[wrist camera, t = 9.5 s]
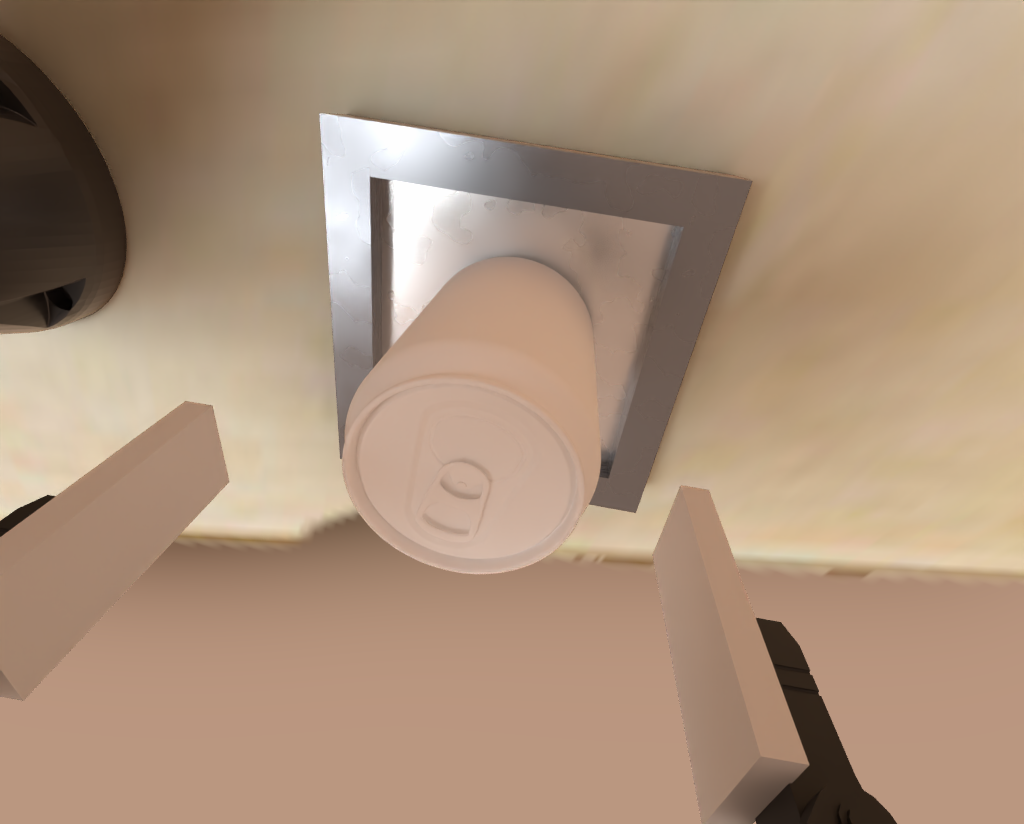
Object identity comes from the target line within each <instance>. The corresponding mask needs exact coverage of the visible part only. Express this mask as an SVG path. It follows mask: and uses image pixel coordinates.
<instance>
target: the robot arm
mask: <svg viewBox="0 0 1024 824" xmlns="http://www.w3.org/2000/svg"><path fill="white" fill-rule="evenodd" d="M125 260H126V230H125V223H124V217H123V212H122V208H121V204H120V200H119V197H118V193H117V190H116V188H115V185H114V182H113V179H112V177H111V175H110V172H109V170H108V167H107V165H106V163H105V161H104V159H103V157H102V155H101V153H100V151H99V149H98V147H97V145H96V144H95V142H94V140H93V138H92V137H91V135H90V133H89V132H88V130H87V128H86V127H85V125H84V124H83V122H82V121H81V119H80V118H79V116H78V115H77V113H76V112H75V111H74V109H73V108H72V107H71V105H70V104H69V103H68V101H67V100H66V99H65V98H64V96H63V95H62V94H61V93H60V91H59V90H58V89H57V88H56V87H55V85H54V84H53V83H52V82H51V81H50V80H49V79H48V78H47V76H46V75H45V74H44V73H43V72H42V71H41V70H40V69H39V68H38V67H37V66H36V65H35V64H34V63H33V62H32V61H31V60H30V59H29V58H28V57H26V56H25V55H24V54H23V53H22V52H21V51H20V50H19V49H17V48H16V47H15V46H14V45H13V44H12V43H10V42H9V41H8V40H7V39H5V38H4V37H3V36H1V35H0V334H11V333H30V332H39V331H44V330H49V329H54V328H57V327H61V326H63V325H66V324H69V323H71V322H74V321H77V320H79V319H82V318H84V317H87V316H89V315H91V314H93V313H95V312H96V311H98V310H99V309H100V308H102V307H103V306H104V305H105V304H106V303H107V302H108V301H109V300H110V298H111V297H112V296H113V294H114V293H115V291H116V289H117V287H118V285H119V283H120V281H121V278H122V275H123V271H124V267H125ZM228 483H229V478H228V473H227V469H226V464H225V460H224V455H223V451H222V447H221V442H220V438H219V433H218V429H217V424H216V420H215V415H214V411H213V406H212V405H206V404H200V403H194V402H188V401H185V402H184V403H182V404H181V405H180V406H178V407H177V408H175V409H174V410H173V411H171V412H170V413H169V414H167V415H166V416H165V417H163V418H162V419H161V420H159V421H158V422H156V423H155V424H154V425H152V426H151V427H150V428H148V429H147V430H146V431H144V432H143V433H141V434H140V435H139V436H137V437H136V438H135V439H133V440H132V441H131V442H129V443H128V444H127V445H125V446H124V447H122V448H121V449H120V450H118V451H117V452H116V453H114V454H113V455H112V456H110V457H109V458H107V459H106V460H105V461H103V462H102V463H101V464H99V465H98V466H97V467H95V468H94V469H92V470H91V471H90V472H88V473H87V474H86V475H84V476H83V477H82V478H80V479H79V480H78V481H76V482H75V483H73V484H72V485H71V486H69V487H68V488H67V489H65V490H64V491H63V492H61V493H60V494H58V495H57V496H51V495H47V496H45V497H42V498H40V499H38V500H36V501H34V502H31V503H29V504H27V505H25V506H23V507H20V508H18V509H16V510H15V511H14V512H12V513H11V514H9V515H8V516H7V517H5V518H4V519H2V520H1V521H0V697H6V698H11V699H17V700H22V701H23V700H25V699H26V697H27V696H28V695H29V694H30V693H31V692H32V691H33V690H34V689H35V688H36V687H37V686H38V685H39V684H40V683H41V681H42V680H43V679H44V678H45V677H46V676H47V675H48V674H49V673H50V672H51V671H52V670H53V669H54V668H55V667H56V666H57V665H58V663H59V662H60V661H61V660H62V659H63V658H64V657H65V656H66V655H67V654H68V653H69V652H70V651H71V649H73V647H74V646H75V645H76V644H77V643H78V642H79V641H80V640H81V639H82V638H83V637H84V636H85V635H86V634H87V633H88V631H89V630H90V629H91V628H92V627H93V626H94V625H95V624H96V623H97V622H98V621H99V620H100V619H101V618H102V617H103V615H104V614H105V613H106V612H107V611H108V610H109V609H110V608H111V607H112V606H113V605H114V604H115V603H116V602H117V601H118V600H119V599H120V597H121V596H122V595H123V594H124V593H125V592H126V591H127V590H128V589H129V588H130V587H131V586H132V585H133V584H134V583H135V582H136V580H137V579H138V578H139V577H140V576H141V575H142V574H143V573H144V572H145V571H146V570H147V569H148V568H149V567H150V566H151V565H152V563H153V562H154V561H155V560H156V559H157V558H158V557H159V556H160V555H161V554H162V553H163V552H164V551H165V550H166V549H167V548H168V546H169V545H170V544H171V543H172V542H173V541H174V540H175V539H176V538H177V537H178V536H179V535H180V534H181V533H182V532H183V530H184V529H185V528H186V527H187V526H188V525H189V524H190V523H191V522H192V521H193V520H194V519H195V518H196V517H197V516H198V515H199V513H200V512H201V511H202V510H203V509H204V508H205V507H206V506H207V505H208V504H209V503H210V502H211V501H212V500H213V499H214V498H215V496H216V495H217V494H218V493H219V492H220V491H221V490H222V489H223V488H224V487H225V486H226V485H227V484H228ZM653 560H654V566H655V571H656V577H657V582H658V588H659V593H660V598H661V604H662V609H663V615H664V620H665V626H666V631H667V637H668V642H669V648H670V653H671V658H672V664H673V669H674V674H675V680H676V686H677V691H678V697H679V702H680V707H681V713H682V718H683V724H684V729H685V735H686V740H687V745H688V751H689V756H690V762H691V767H692V772H693V778H694V784H695V789H696V795H697V800H698V806H699V811H700V817H701V822H702V824H753V823H754V822H755V821H756V824H897V823H896V822H895V820H894V819H893V817H892V816H891V814H890V813H889V812H888V811H887V810H886V809H885V808H884V807H883V806H882V805H881V804H880V803H879V802H878V801H877V800H876V799H875V798H874V797H873V796H871V795H869V794H868V793H867V792H865V791H864V790H863V789H862V787H861V785H860V784H859V782H858V780H857V778H856V776H855V774H854V772H853V769H852V767H851V765H850V762H849V760H848V758H847V755H846V753H845V751H844V748H843V746H842V744H841V741H840V739H839V737H838V734H837V732H836V730H835V727H834V725H833V723H832V720H831V718H830V716H829V714H828V711H827V709H826V706H825V704H824V702H823V699H822V697H821V696H819V694H818V692H819V690H818V688H817V685H816V683H815V681H814V679H813V676H812V675H810V673H809V672H810V669H809V667H808V664H807V662H806V660H805V657H804V655H803V653H802V650H801V648H800V646H799V645H798V643H797V642H796V641H795V639H794V638H793V637H792V636H791V634H790V633H789V632H788V631H787V629H786V628H785V627H784V626H783V624H782V623H781V622H777V621H771V620H765V619H760V618H756V617H755V615H754V612H753V609H752V607H751V604H750V601H749V598H748V596H747V593H746V590H745V588H744V585H743V582H742V579H741V577H740V574H739V571H738V568H737V566H736V563H735V560H734V557H733V555H732V552H731V549H730V546H729V544H728V541H727V538H726V536H725V533H724V530H723V527H722V525H721V522H720V519H719V516H718V514H717V511H716V508H715V505H714V503H713V500H712V497H711V495H710V492H709V490H706V489H700V488H694V487H688V486H682V485H681V486H680V489H679V491H678V494H677V496H676V499H675V501H674V503H673V506H672V508H671V511H670V513H669V516H668V518H667V521H666V523H665V526H664V528H663V531H662V533H661V535H660V538H659V540H658V543H657V545H656V548H655V550H654V553H653Z"/></svg>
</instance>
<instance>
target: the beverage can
mask: <svg viewBox="0 0 1024 824" xmlns="http://www.w3.org/2000/svg"><path fill="white" fill-rule="evenodd" d="M600 467H601V446H600V430H599V415H598V399H597V383H596V367H595V352H594V336H593V327H592V322H591V318H590V315H589V312H588V310H587V307H586V305H585V303H584V301H583V300H582V298H581V296H580V295H579V293H578V292H577V291H576V289H575V288H574V287H573V286H572V285H571V284H570V283H569V282H568V281H567V280H566V279H565V278H564V277H563V276H561V275H560V274H559V273H557V272H556V271H554V270H553V269H551V268H549V267H547V266H545V265H543V264H541V263H538V262H535V261H532V260H529V259H524V258H518V257H495V258H489V259H485V260H482V261H479V262H476V263H473V264H471V265H469V266H467V267H465V268H464V269H462V270H461V271H459V272H458V273H456V274H455V275H454V276H453V277H452V278H451V279H450V280H449V281H448V282H447V283H446V284H445V285H444V286H443V287H442V288H441V290H440V291H439V292H438V293H437V294H436V295H435V297H434V298H433V299H432V300H431V301H430V302H429V304H428V305H427V306H426V307H425V308H424V309H423V311H422V312H421V313H420V314H419V315H418V316H417V318H416V319H415V320H414V321H413V322H412V323H411V325H410V326H409V327H408V328H407V329H406V330H405V332H404V333H403V334H402V335H401V336H400V337H399V339H398V340H397V341H396V342H395V343H394V344H393V346H392V347H391V348H390V349H389V350H388V351H387V353H386V354H385V355H384V356H383V357H382V358H381V360H380V361H379V362H378V363H377V364H376V365H375V367H374V368H373V369H372V370H371V371H370V373H369V374H368V375H367V376H366V377H365V379H364V380H363V381H362V383H361V384H360V386H359V387H358V389H357V391H356V393H355V395H354V397H353V399H352V401H351V404H350V407H349V410H348V414H347V418H346V424H345V443H344V447H343V455H342V469H343V476H344V481H345V485H346V488H347V491H348V493H349V496H350V498H351V500H352V502H353V504H354V506H355V507H356V509H357V511H358V512H359V514H360V515H361V517H362V518H363V519H364V520H365V522H366V523H367V524H368V525H369V526H370V527H371V528H372V529H373V530H374V531H375V532H376V533H377V534H378V535H379V536H380V537H381V538H382V539H384V540H385V541H386V542H387V543H389V544H390V545H391V546H393V547H394V548H396V549H397V550H399V551H400V552H402V553H404V554H406V555H408V556H410V557H411V558H413V559H416V560H418V561H420V562H423V563H425V564H428V565H431V566H434V567H437V568H440V569H444V570H448V571H454V572H460V573H468V574H494V573H502V572H507V571H512V570H516V569H520V568H523V567H526V566H528V565H531V564H533V563H535V562H538V561H540V560H541V559H543V558H545V557H546V556H548V555H549V554H551V553H552V552H554V551H555V550H556V549H557V548H558V547H560V546H561V545H562V544H563V543H564V542H565V540H566V539H567V538H568V537H569V536H570V534H571V533H572V531H573V530H574V528H575V526H576V525H577V523H578V520H579V518H580V516H581V515H582V514H583V512H584V511H585V509H586V508H587V506H588V504H589V503H590V501H591V499H592V497H593V494H594V492H595V489H596V486H597V483H598V479H599V474H600Z"/></svg>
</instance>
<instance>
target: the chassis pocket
mask: <svg viewBox="0 0 1024 824" xmlns="http://www.w3.org/2000/svg"><path fill="white" fill-rule="evenodd" d="M319 115H320V132H321V148H322V165H323V181H324V198H325V214H326V231H327V247H328V264H329V281H330V297H331V314H332V330H333V347H334V363H335V380H336V396H337V413H338V430H339V446H340V459H342V455H343V447H344V443H345V424H346V418H347V414H348V410H349V407H350V404H351V401H352V399H353V397H354V395H355V393H356V391H357V389H358V387H359V386H360V384H361V383H362V381H363V380H364V379H365V377H366V376H367V375H368V374H369V373H370V371H371V370H372V369H373V368H374V367H375V365H376V364H377V363H378V362H379V361H380V360H381V358H382V357H383V356H384V355H385V354H386V353H387V351H388V350H389V349H390V348H391V347H392V346H393V344H394V343H395V342H396V341H397V340H398V339H399V337H400V336H401V335H402V334H403V333H404V332H405V330H406V329H407V328H408V327H409V326H410V325H411V323H412V322H413V321H414V320H415V319H416V318H417V316H418V315H419V314H420V313H421V312H422V311H423V309H424V308H425V307H426V306H427V305H428V304H429V302H430V301H431V300H432V299H433V298H434V297H435V295H436V294H437V293H438V292H439V291H440V290H441V288H442V287H443V286H444V285H445V284H446V283H447V282H448V281H449V280H450V279H451V278H452V277H453V276H454V275H455V274H456V273H458V272H459V271H461V270H462V269H464V268H465V267H467V266H469V265H471V264H473V263H476V262H479V261H482V260H485V259H489V258H495V257H518V258H524V259H529V260H532V261H535V262H538V263H541V264H543V265H545V266H547V267H549V268H551V269H553V270H554V271H556V272H557V273H559V274H560V275H561V276H563V277H564V278H565V279H566V280H567V281H568V282H569V283H570V284H571V285H572V286H573V287H574V288H575V289H576V291H577V292H578V293H579V295H580V296H581V298H582V300H583V301H584V303H585V305H586V307H587V310H588V312H589V315H590V318H591V322H592V327H593V336H594V352H595V367H596V383H597V399H598V415H599V430H600V446H601V467H600V474H599V479H598V483H597V486H596V489H595V492H594V494H593V497H592V499H591V501H590V503H589V504H590V505H596V506H601V507H607V508H612V509H617V510H623V511H628V512H634V513H636V511H637V508H638V505H639V502H640V499H641V496H642V494H643V491H644V488H645V485H646V482H647V479H648V477H649V474H650V471H651V468H652V465H653V462H654V459H655V457H656V454H657V451H658V448H659V445H660V442H661V440H662V437H663V434H664V431H665V428H666V425H667V422H668V420H669V417H670V414H671V411H672V408H673V405H674V403H675V400H676V397H677V394H678V391H679V388H680V385H681V383H682V380H683V377H684V374H685V371H686V368H687V366H688V363H689V360H690V357H691V354H692V351H693V348H694V346H695V343H696V340H697V337H698V334H699V331H700V329H701V326H702V323H703V320H704V317H705V314H706V311H707V309H708V306H709V303H710V300H711V297H712V294H713V292H714V289H715V286H716V283H717V280H718V277H719V274H720V272H721V269H722V266H723V263H724V260H725V257H726V255H727V252H728V249H729V246H730V243H731V240H732V237H733V235H734V232H735V229H736V226H737V223H738V220H739V218H740V215H741V212H742V209H743V206H744V203H745V200H746V198H747V195H748V192H749V189H750V186H751V183H752V181H751V180H748V179H745V178H741V177H738V176H735V175H729V174H723V173H716V172H710V171H703V170H697V169H691V168H684V167H678V166H672V165H665V164H659V163H652V162H646V161H640V160H633V159H627V158H621V157H614V156H608V155H601V154H595V153H589V152H582V151H576V150H570V149H563V148H557V147H551V146H544V145H538V144H531V143H525V142H519V141H512V140H506V139H500V138H493V137H487V136H480V135H474V134H468V133H461V132H455V131H449V130H442V129H436V128H429V127H423V126H417V125H410V124H404V123H398V122H391V121H385V120H378V119H372V118H366V117H359V116H353V115H347V114H330V113H319Z"/></svg>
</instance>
